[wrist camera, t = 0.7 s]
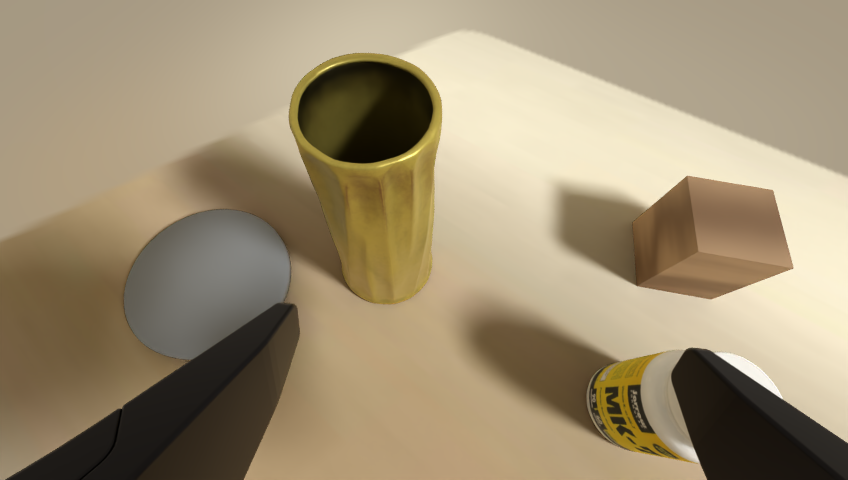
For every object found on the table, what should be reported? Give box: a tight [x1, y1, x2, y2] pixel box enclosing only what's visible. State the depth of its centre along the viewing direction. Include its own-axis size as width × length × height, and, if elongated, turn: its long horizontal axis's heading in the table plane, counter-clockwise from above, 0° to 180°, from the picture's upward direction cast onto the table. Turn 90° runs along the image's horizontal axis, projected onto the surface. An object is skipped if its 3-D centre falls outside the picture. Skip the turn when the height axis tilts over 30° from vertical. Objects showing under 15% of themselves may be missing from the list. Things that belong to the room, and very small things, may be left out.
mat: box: [124, 209, 291, 360], centre depth 24 cm, size 10×10×1 cm
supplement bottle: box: [587, 350, 783, 464], centre depth 18 cm, size 5×5×8 cm
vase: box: [289, 53, 442, 304], centre depth 19 cm, size 6×6×14 cm
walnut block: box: [633, 176, 793, 299], centre depth 24 cm, size 5×5×6 cm
